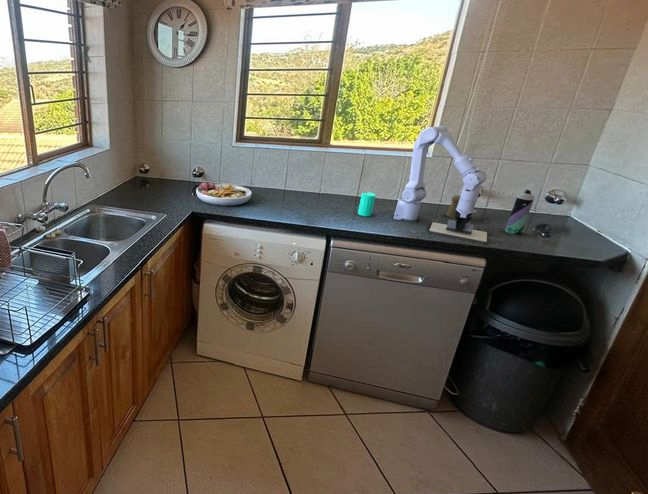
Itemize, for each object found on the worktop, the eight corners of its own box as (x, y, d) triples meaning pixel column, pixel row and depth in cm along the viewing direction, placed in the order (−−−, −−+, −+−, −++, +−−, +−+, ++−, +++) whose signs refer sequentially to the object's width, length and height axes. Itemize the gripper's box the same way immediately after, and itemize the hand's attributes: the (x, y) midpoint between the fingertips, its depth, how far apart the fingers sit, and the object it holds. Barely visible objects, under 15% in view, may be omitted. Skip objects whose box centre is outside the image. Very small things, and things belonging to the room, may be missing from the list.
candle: (370, 213, 202) (375, 190, 197) (371, 216, 197) (376, 193, 192) (357, 211, 204) (362, 188, 200) (357, 215, 199) (362, 191, 195)
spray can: (500, 231, 179) (516, 188, 172) (512, 231, 180) (528, 188, 172) (512, 236, 174) (528, 192, 167) (523, 236, 175) (540, 191, 167)
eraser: (471, 231, 175) (474, 224, 173) (471, 234, 171) (473, 227, 170) (446, 226, 180) (448, 219, 179) (445, 229, 177) (447, 222, 175)
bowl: (257, 196, 227) (259, 183, 224) (240, 211, 203) (241, 196, 200) (208, 189, 242) (209, 176, 239) (186, 201, 218) (187, 187, 215)
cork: (463, 219, 194) (469, 198, 190) (449, 219, 195) (455, 197, 191) (456, 215, 199) (463, 194, 195) (443, 215, 200) (449, 193, 196)
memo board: (428, 232, 178) (429, 230, 177) (432, 224, 188) (432, 222, 188) (485, 244, 166) (486, 241, 166) (486, 234, 176) (486, 232, 176)
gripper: (479, 205, 163) (469, 236, 168) (480, 197, 173) (470, 226, 178) (458, 201, 167) (449, 232, 172) (460, 194, 178) (451, 223, 183)
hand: (458, 229), depth 175 cm, fingers closed on eraser, 4 cm apart
